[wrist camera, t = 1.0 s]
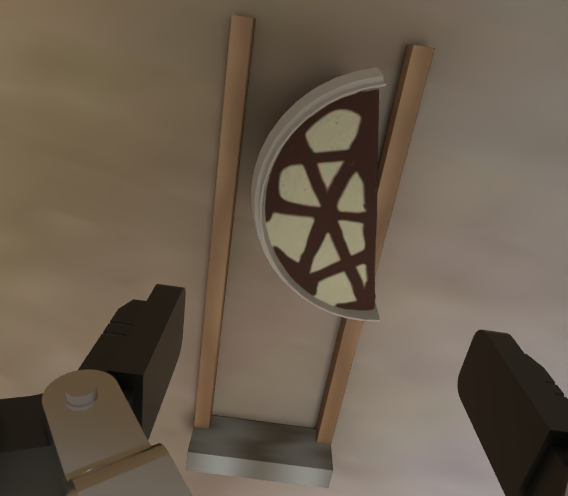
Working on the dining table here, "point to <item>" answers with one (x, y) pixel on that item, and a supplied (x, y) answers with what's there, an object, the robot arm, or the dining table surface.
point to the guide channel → (207, 428)
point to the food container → (324, 195)
